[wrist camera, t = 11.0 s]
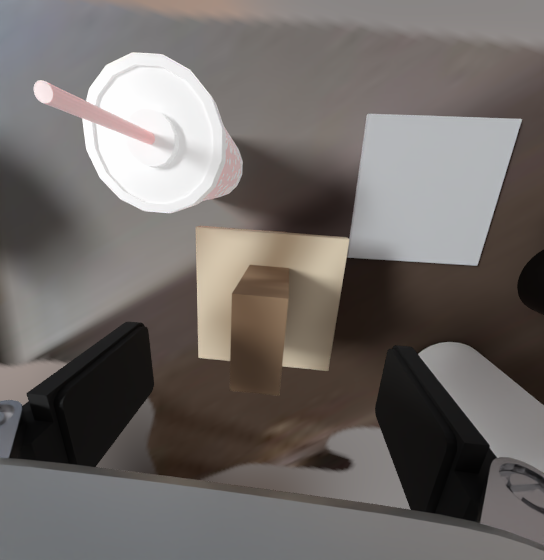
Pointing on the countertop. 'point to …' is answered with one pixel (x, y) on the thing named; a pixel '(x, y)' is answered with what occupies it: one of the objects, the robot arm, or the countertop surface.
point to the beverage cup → (153, 133)
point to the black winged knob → (533, 283)
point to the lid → (267, 302)
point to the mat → (429, 187)
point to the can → (490, 401)
